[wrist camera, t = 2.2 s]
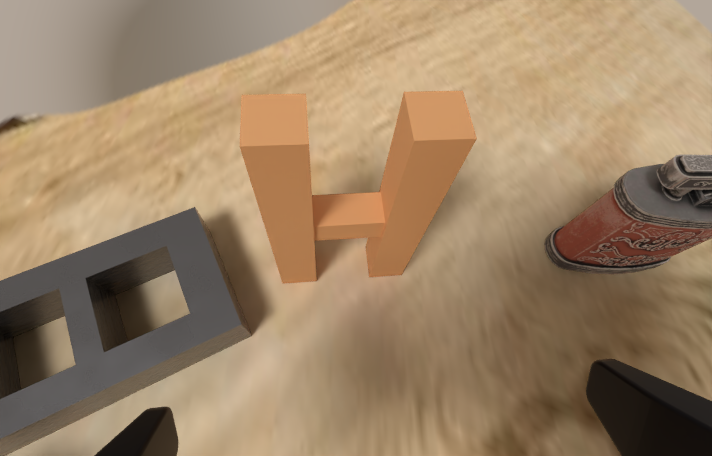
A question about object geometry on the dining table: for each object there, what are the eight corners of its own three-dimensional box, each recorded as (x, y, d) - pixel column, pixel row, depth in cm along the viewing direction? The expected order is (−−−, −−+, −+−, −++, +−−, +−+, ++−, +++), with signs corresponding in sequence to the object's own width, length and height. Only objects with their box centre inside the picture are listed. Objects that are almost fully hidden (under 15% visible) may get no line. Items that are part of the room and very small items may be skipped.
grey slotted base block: (209, 230, 24) (194, 207, 21) (251, 335, 21) (241, 324, 19) (-34, 327, 21) (-88, 314, 18) (-18, 466, 18) (-78, 475, 15)
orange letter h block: (396, 244, 25) (462, 90, 13) (401, 274, 24) (476, 138, 12) (282, 252, 24) (241, 94, 12) (282, 283, 23) (239, 146, 11)
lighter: (650, 226, 27) (816, 130, 18) (669, 273, 25) (861, 195, 16) (538, 227, 26) (652, 127, 17) (551, 275, 24) (684, 194, 15)
